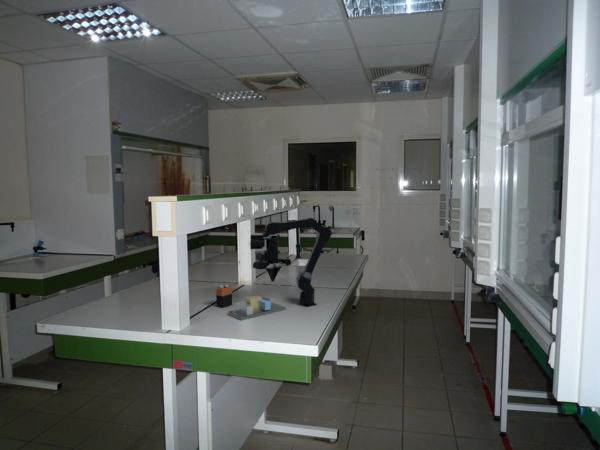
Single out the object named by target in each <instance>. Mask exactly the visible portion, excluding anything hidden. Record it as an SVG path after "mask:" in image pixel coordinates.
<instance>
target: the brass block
mask: <svg viewBox="0 0 600 450" xmlns="http://www.w3.org/2000/svg"><path fill="white" fill-rule="evenodd" d="M262 298H263V297H262V296H260V295H252V296H246V298H245V303H247V304H250V305H252V306H253V312H255V311H259V310H262Z"/></svg>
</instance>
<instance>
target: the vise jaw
mask: <svg viewBox="0 0 600 450" xmlns="http://www.w3.org/2000/svg"><path fill="white" fill-rule="evenodd" d="M271 302H272V301H271V298H268V297H265V296H264V297H262V309H263V310H269V309H271Z"/></svg>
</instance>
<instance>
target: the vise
mask: <svg viewBox="0 0 600 450" xmlns="http://www.w3.org/2000/svg"><path fill="white" fill-rule="evenodd" d="M270 302H271V309H269V310H263V309H262V310H259V311H255V312H253V306H252V305H250V304H247V303H246V302H245V301H237V302H235V310H232V311H228V312H227V315H228V316H230V317H233V318H235V319H237V320H240V321H245V320H249V319H252V318H253V319H254V318H257V317H261V315H262V316H265V315H268V314H269V315H270V314H274V313H277V312H281V311H285V310H287V309H286V308H287V307H286V306H283V305H280V304H278V303H275V302H272V301H270Z"/></svg>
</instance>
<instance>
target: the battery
mask: <svg viewBox="0 0 600 450" xmlns="http://www.w3.org/2000/svg"><path fill="white" fill-rule="evenodd" d="M215 290H216V291H215V299H216V300H215V301H216V307H217V308H222V309H224V308H226V307H230V306H232V305H233V287H232V286H230V285H229V284H225V285H219V286H218V287H216V288H215Z"/></svg>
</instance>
